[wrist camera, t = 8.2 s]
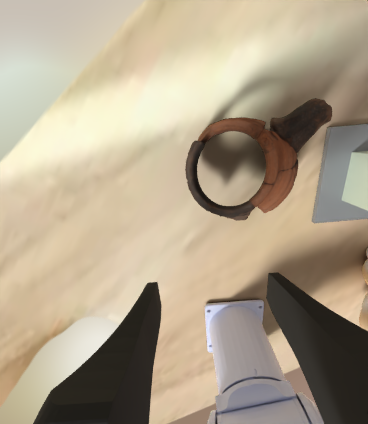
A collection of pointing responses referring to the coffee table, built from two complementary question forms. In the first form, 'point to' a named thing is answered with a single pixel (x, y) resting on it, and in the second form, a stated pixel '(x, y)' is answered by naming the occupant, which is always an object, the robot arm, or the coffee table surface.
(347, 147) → the plate
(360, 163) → the brick
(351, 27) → the coffee table surface
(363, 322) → the kitten
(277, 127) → the brown ring with handle
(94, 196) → the coffee table surface
